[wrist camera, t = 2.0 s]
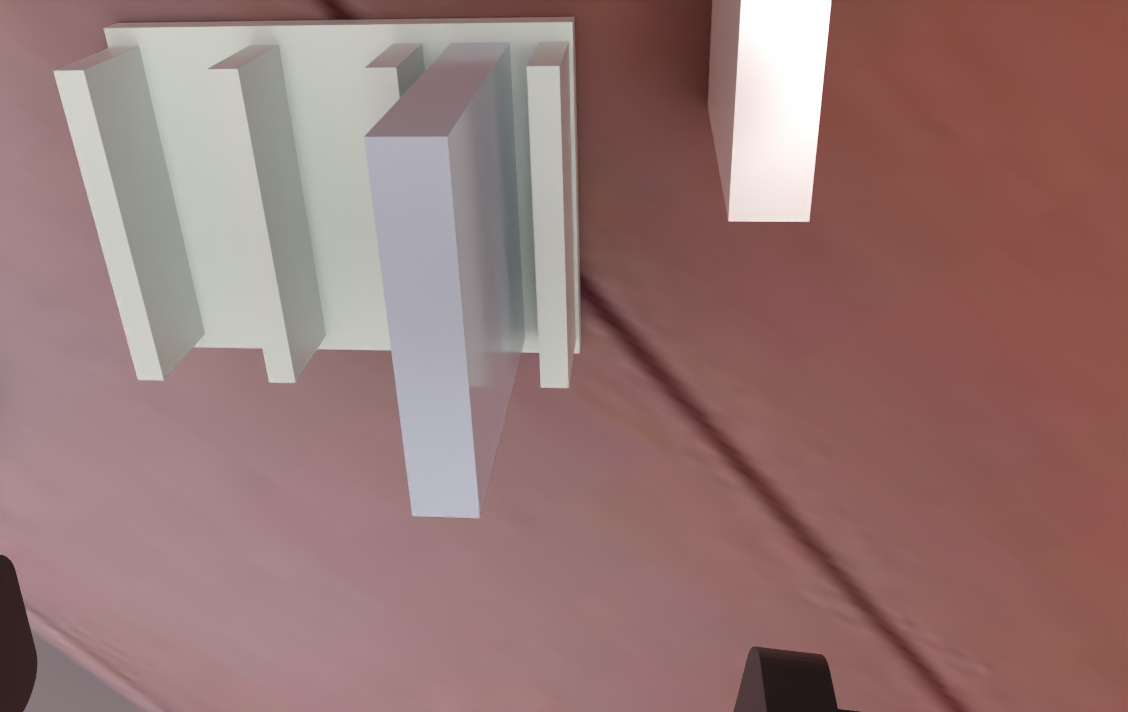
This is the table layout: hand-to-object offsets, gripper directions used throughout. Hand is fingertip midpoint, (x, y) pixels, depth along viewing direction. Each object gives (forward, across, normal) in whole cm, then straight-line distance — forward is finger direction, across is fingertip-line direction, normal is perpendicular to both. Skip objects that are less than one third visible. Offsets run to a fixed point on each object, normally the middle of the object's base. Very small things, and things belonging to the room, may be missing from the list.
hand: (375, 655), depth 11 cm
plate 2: (+20, -5, -6) cm, 21 cm away
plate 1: (+19, +1, +2) cm, 19 cm away
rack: (+20, +5, +2) cm, 21 cm away
